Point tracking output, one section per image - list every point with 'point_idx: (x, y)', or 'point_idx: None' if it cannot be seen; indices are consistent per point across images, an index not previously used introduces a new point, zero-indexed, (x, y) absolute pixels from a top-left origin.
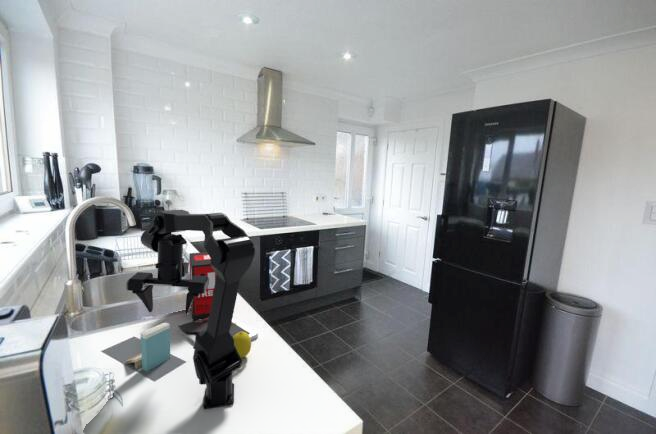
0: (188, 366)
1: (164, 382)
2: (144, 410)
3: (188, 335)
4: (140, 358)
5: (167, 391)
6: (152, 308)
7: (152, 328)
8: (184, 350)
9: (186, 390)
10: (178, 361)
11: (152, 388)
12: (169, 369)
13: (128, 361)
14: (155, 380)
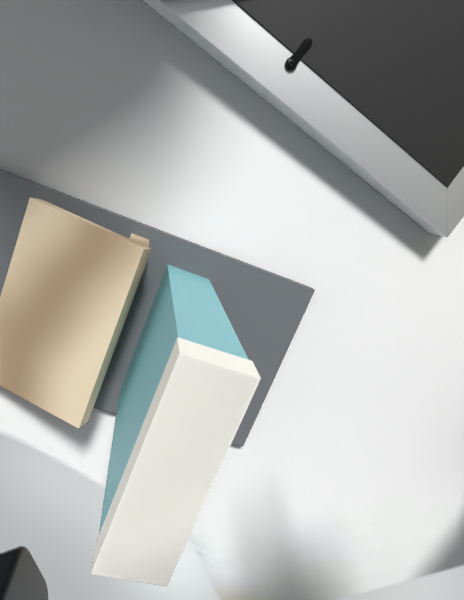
0: (333, 309)
1: (282, 428)
2: (295, 553)
3: (194, 21)
4: (91, 403)
5: (324, 466)
6: (19, 584)
7: (142, 487)
8: (236, 174)
9: (394, 444)
10: (270, 297)
11: (254, 468)
12: (260, 362)
13: (7, 386)
14: (243, 439)
